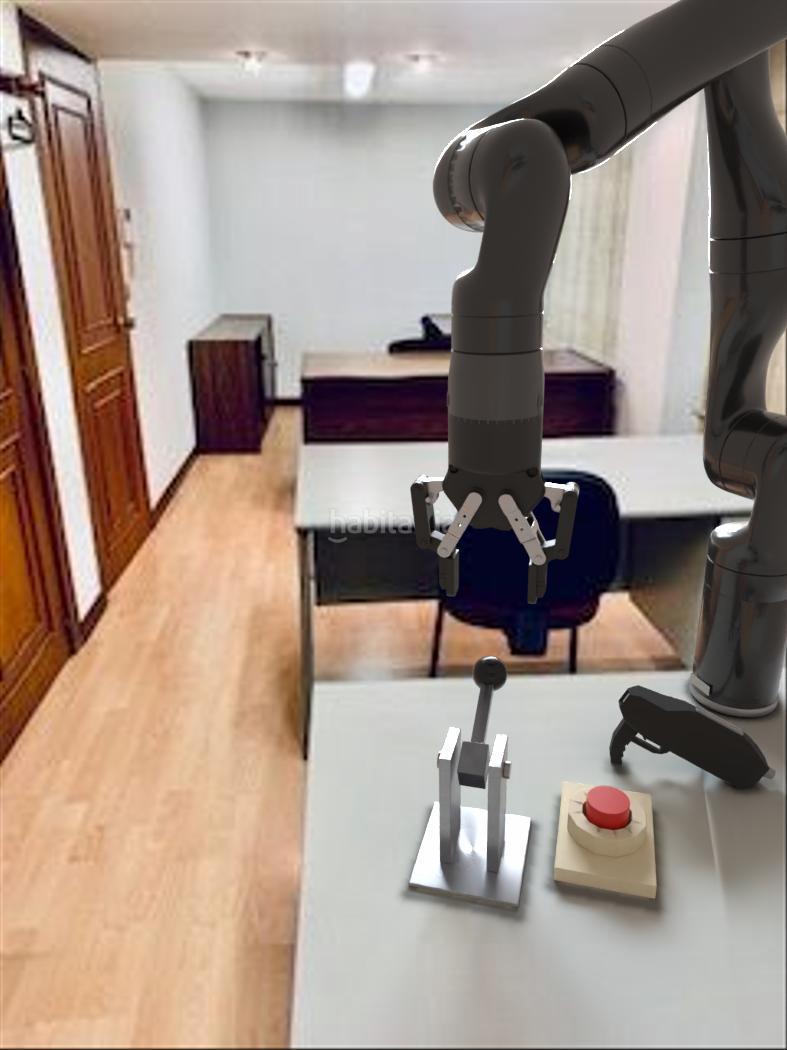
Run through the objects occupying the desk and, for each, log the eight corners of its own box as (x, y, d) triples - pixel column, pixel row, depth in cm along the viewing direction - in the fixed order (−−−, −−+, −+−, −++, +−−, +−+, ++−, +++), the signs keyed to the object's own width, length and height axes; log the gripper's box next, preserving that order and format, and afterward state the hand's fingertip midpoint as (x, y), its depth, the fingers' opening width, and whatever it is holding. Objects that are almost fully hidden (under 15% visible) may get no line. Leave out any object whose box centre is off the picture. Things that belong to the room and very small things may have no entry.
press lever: (476, 666, 71) (474, 646, 69) (510, 670, 71) (509, 650, 68) (453, 786, 63) (450, 768, 61) (491, 792, 63) (489, 774, 60)
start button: (586, 798, 68) (587, 782, 67) (628, 805, 67) (629, 789, 66) (584, 826, 65) (585, 810, 64) (628, 834, 64) (630, 817, 63)
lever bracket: (435, 811, 72) (433, 705, 68) (530, 827, 70) (535, 719, 66) (408, 893, 63) (405, 777, 59) (517, 915, 61) (522, 796, 57)
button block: (561, 799, 73) (564, 765, 72) (649, 813, 71) (653, 778, 70) (553, 888, 63) (555, 850, 62) (654, 907, 61) (658, 868, 60)
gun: (729, 834, 76) (793, 766, 72) (585, 757, 76) (641, 684, 72) (723, 814, 78) (785, 747, 74) (584, 739, 78) (638, 668, 74)
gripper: (590, 399, 62) (578, 585, 68) (418, 395, 65) (421, 572, 71) (586, 419, 55) (574, 624, 61) (395, 413, 59) (401, 607, 65)
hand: (491, 595), depth 66 cm, fingers open, 6 cm apart
